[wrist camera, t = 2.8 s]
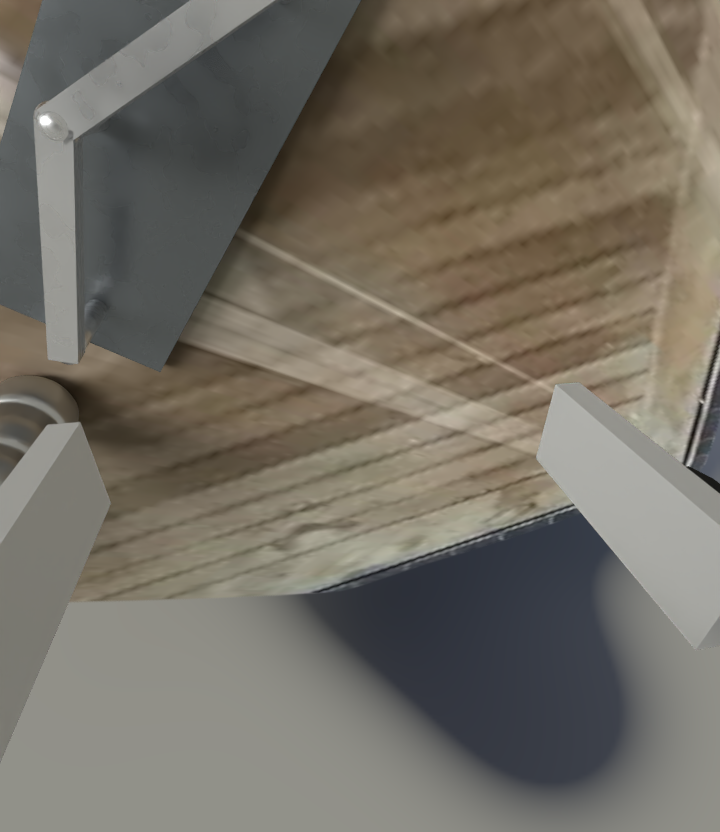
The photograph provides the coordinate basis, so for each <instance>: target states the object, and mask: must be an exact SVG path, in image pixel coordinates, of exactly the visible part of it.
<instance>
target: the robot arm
mask: <svg viewBox="0 0 720 832" xmlns="http://www.w3.org/2000/svg"><path fill="white" fill-rule="evenodd" d="M536 459H537V460H538V462H539V463H540V464H541V465H542V466H543V468H544V469H545V470H546V471H547V472H548V474H549V475H550V476H551V477H552V478H553V480H554V481H555V482H556V483H557V484H558V486H559V487H560V488H561V489H562V490H563V492H564V493H565V494H566V495H567V496H568V498H569V499H570V500H571V501H572V502H573V504H574V505H575V506H576V507H577V508H578V510H579V511H580V512H581V513H582V514H583V516H584V517H585V518H586V519H587V520H588V522H589V523H590V524H591V525H592V526H593V528H594V529H595V530H596V531H597V532H598V534H599V535H600V536H601V537H602V538H603V540H604V541H605V542H606V543H607V544H608V546H609V547H610V548H611V549H612V551H613V552H614V553H615V554H616V555H617V556H618V558H619V559H620V560H621V561H622V562H623V564H624V565H625V566H626V567H627V569H628V570H629V571H630V572H631V573H632V575H633V576H634V577H635V578H636V579H637V581H638V582H639V583H640V584H641V585H642V587H643V588H644V589H645V590H646V591H647V593H648V594H649V595H650V596H651V597H652V599H653V600H654V601H655V602H656V603H657V604H658V606H659V607H660V608H661V609H662V611H663V612H664V613H665V614H666V615H667V617H668V618H669V619H670V620H671V621H672V623H673V624H674V625H675V626H676V627H677V629H678V630H679V631H680V632H681V633H682V635H683V636H684V637H685V638H686V639H687V641H688V642H689V643H690V644H691V645H692V647H693V648H694V649H695V650H701V649H706V648H711V647H716V646H720V484H719V483H718V482H717V481H715V480H714V479H713V478H711V477H708V476H707V475H705V474H703V473H701V472H699V471H697V470H695V469H693V468H691V467H689V466H688V467H685V466H684V465H683V464H682V463H680V462H679V461H678V460H677V459H675V458H674V457H673V456H671V455H670V454H669V453H668V452H666V451H665V450H664V449H663V448H661V447H660V446H659V445H658V444H656V443H655V442H654V441H653V440H651V439H650V438H649V437H647V436H646V435H645V434H644V433H642V432H641V431H640V430H639V429H637V428H636V427H635V426H634V425H632V424H631V423H630V422H628V421H627V420H626V419H625V418H623V417H622V416H621V415H620V414H618V413H617V412H616V411H615V410H613V409H612V408H611V407H610V406H608V405H607V404H606V403H604V402H603V401H602V400H601V399H599V398H598V397H597V396H596V395H594V394H593V393H592V392H591V391H589V390H588V389H587V388H585V387H584V386H583V385H582V384H580V383H579V382H578V383H565V384H556V385H555V388H554V392H553V396H552V400H551V403H550V407H549V411H548V415H547V418H546V422H545V426H544V430H543V434H542V437H541V441H540V445H539V449H538V452H537V456H536ZM110 504H111V502H110V499H109V497H108V494H107V491H106V489H105V486H104V483H103V481H102V478H101V476H100V473H99V470H98V468H97V465H96V462H95V460H94V457H93V454H92V452H91V449H90V446H89V444H88V441H87V438H86V436H85V433H84V430H83V428H82V425H81V422H74V423H62V424H49V425H47V426H46V427H45V429H44V430H43V431H42V433H41V434H40V435H39V436H38V438H37V439H36V440H35V442H34V443H33V444H32V446H31V447H30V448H29V450H28V451H27V452H26V454H25V455H24V456H23V457H22V459H21V460H20V461H19V463H18V464H17V465H16V467H15V468H14V469H13V471H12V472H11V473H10V474H9V476H8V477H7V478H6V480H5V481H4V482H3V484H2V485H1V486H0V762H1V760H2V757H3V755H4V753H5V750H6V748H7V745H8V743H9V741H10V739H11V736H12V734H13V732H14V729H15V727H16V725H17V722H18V720H19V718H20V715H21V713H22V710H23V708H24V706H25V703H26V701H27V699H28V697H29V694H30V692H31V689H32V687H33V685H34V683H35V680H36V678H37V675H38V673H39V671H40V668H41V666H42V664H43V661H44V659H45V656H46V654H47V652H48V650H49V647H50V645H51V643H52V640H53V638H54V636H55V633H56V631H57V628H58V626H59V624H60V622H61V619H62V617H63V614H64V612H65V610H66V607H67V605H68V603H69V600H70V598H71V596H72V593H73V591H74V589H75V586H76V584H77V582H78V579H79V577H80V575H81V572H82V570H83V568H84V565H85V563H86V561H87V558H88V556H89V554H90V551H91V549H92V547H93V544H94V542H95V539H96V537H97V535H98V532H99V530H100V528H101V525H102V523H103V521H104V518H105V516H106V514H107V511H108V509H109V507H110Z"/></svg>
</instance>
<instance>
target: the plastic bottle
mask: <svg viewBox="0 0 720 832" xmlns="http://www.w3.org/2000/svg"><path fill="white" fill-rule="evenodd" d="M78 420H79V409H78V405H77V403H76V401H75V400H74V398H73V397H72V395H71V394H70V393H69V392H68V391H67V390H66V389H65V388H64V387H63V386H61V385H60V384H58V383H56V382H54V381H53V380H50V379H47V378H44V377H40V376H29V375H23V376H15V377H11V378H8V379H6V380H4V381H3V382H1V383H0V486H1V485H2V484H3V482H4V481H5V480H6V478H7V477H8V476H9V474H10V473H11V472H12V471H13V469H14V468H15V467H16V465H17V464H18V463H19V461H20V460H21V459H22V457H23V456H24V455H25V454H26V452H27V451H28V450H29V448H30V447H31V446H32V444H33V443H34V442H35V440H36V439H37V438H38V436H39V435H40V434H41V433H42V431H43V430H44V429H45V427H46V426H47V425H49V424H62V423H74V422H78Z"/></svg>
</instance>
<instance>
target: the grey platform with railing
mask: <svg viewBox="0 0 720 832" xmlns="http://www.w3.org/2000/svg"><path fill="white" fill-rule="evenodd" d="M360 1H361V0H42V4H41V7H40V11H39V14H38V17H37V21H36V24H35V28H34V31H33V34H32V38H31V41H30V45H29V48H28V51H27V55H26V58H25V62H24V65H23V68H22V72H21V75H20V79H19V82H18V85H17V89H16V92H15V96H14V99H13V103H12V106H11V109H10V113H9V116H8V120H7V123H6V126H5V130H4V133H3V137H2V140H1V143H0V305H3V306H5V307H7V308H10V309H12V310H15V311H17V312H19V313H22V314H24V315H26V316H29V317H31V318H33V319H36V320H38V321H41V322H43V323H45V324H46V335H47V352H48V360H54V361H60V362H62V363H64V364H69V365H71V364H78V363H79V362H80V360H81V358H82V357H83V355H84V353H85V349H86V347H87V346H88V344H89V342H90V343H93V344H95V345H97V346H100V347H102V348H104V349H107V350H109V351H112V352H114V353H116V354H119V355H121V356H123V357H126V358H128V359H130V360H133V361H135V362H138V363H140V364H142V365H145V366H147V367H149V368H152V369H154V370H156V371H159V372H161V370H162V368H163V366H164V364H165V362H166V360H167V359H168V357H169V355H170V353H171V351H172V349H173V347H174V346H175V344H176V342H177V340H178V338H179V336H180V335H181V333H182V331H183V329H184V327H185V325H186V323H187V322H188V320H189V318H190V316H191V314H192V312H193V310H194V309H195V307H196V305H197V303H198V301H199V299H200V298H201V296H202V294H203V292H204V290H205V288H206V286H207V285H208V283H209V281H210V279H211V277H212V275H213V273H214V272H215V270H216V268H217V266H218V264H219V262H220V261H221V259H222V257H223V255H224V253H225V251H226V249H227V248H228V246H229V244H230V242H231V240H232V238H233V236H234V235H235V233H236V231H237V229H238V227H239V225H240V223H241V222H242V220H243V218H244V216H245V214H246V212H247V211H248V209H249V207H250V205H251V203H252V201H253V199H254V198H255V196H256V194H257V192H258V190H259V188H260V186H261V185H262V183H263V181H264V179H265V177H266V175H267V174H268V172H269V170H270V168H271V166H272V164H273V162H274V161H275V159H276V157H277V155H278V153H279V151H280V149H281V148H282V146H283V144H284V142H285V140H286V138H287V137H288V135H289V133H290V131H291V129H292V127H293V125H294V124H295V122H296V120H297V118H298V116H299V114H300V112H301V111H302V109H303V107H304V105H305V103H306V101H307V100H308V98H309V96H310V94H311V92H312V90H313V88H314V87H315V85H316V83H317V81H318V79H319V77H320V75H321V74H322V72H323V70H324V68H325V66H326V64H327V63H328V61H329V59H330V57H331V55H332V53H333V51H334V50H335V48H336V46H337V44H338V42H339V40H340V38H341V37H342V35H343V33H344V31H345V29H346V27H347V26H348V24H349V22H350V20H351V18H352V16H353V14H354V13H355V11H356V9H357V7H358V5H359V3H360Z"/></svg>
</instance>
